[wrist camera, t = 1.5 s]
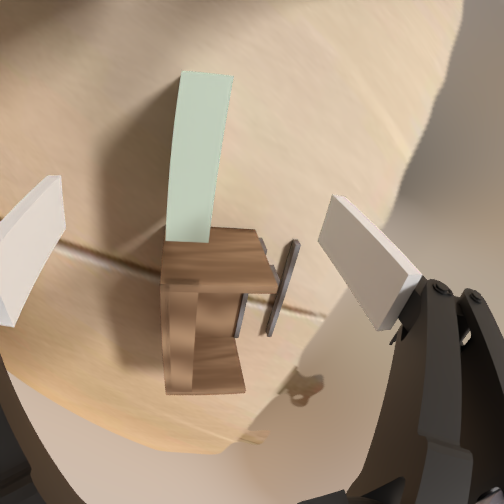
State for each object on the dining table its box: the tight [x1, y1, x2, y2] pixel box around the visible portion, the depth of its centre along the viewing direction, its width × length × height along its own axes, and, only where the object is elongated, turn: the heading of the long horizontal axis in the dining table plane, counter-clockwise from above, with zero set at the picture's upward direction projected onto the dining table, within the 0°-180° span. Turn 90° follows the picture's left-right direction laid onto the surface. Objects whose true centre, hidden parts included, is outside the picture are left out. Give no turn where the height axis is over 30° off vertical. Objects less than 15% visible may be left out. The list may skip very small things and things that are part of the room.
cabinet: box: [160, 225, 301, 395], centre depth 34 cm, size 18×16×10 cm
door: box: [166, 71, 234, 243], centre depth 23 cm, size 12×3×10 cm, turn 170°
